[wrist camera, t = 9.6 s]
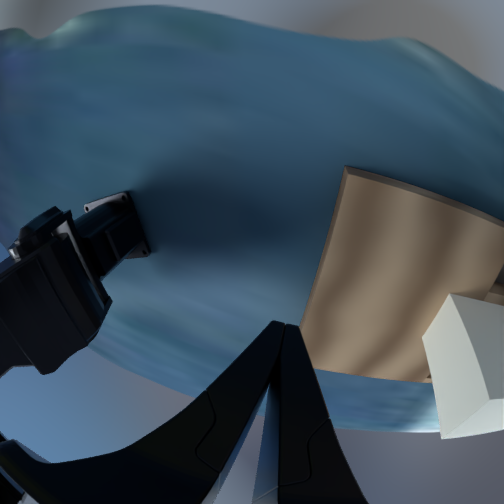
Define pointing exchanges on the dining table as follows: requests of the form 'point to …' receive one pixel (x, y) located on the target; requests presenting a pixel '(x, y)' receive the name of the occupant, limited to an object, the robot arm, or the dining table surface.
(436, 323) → the light gray block
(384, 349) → the trap deck
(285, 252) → the dining table surface
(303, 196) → the dining table surface
